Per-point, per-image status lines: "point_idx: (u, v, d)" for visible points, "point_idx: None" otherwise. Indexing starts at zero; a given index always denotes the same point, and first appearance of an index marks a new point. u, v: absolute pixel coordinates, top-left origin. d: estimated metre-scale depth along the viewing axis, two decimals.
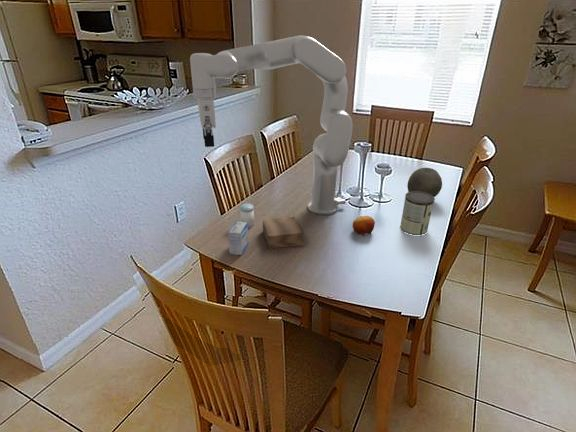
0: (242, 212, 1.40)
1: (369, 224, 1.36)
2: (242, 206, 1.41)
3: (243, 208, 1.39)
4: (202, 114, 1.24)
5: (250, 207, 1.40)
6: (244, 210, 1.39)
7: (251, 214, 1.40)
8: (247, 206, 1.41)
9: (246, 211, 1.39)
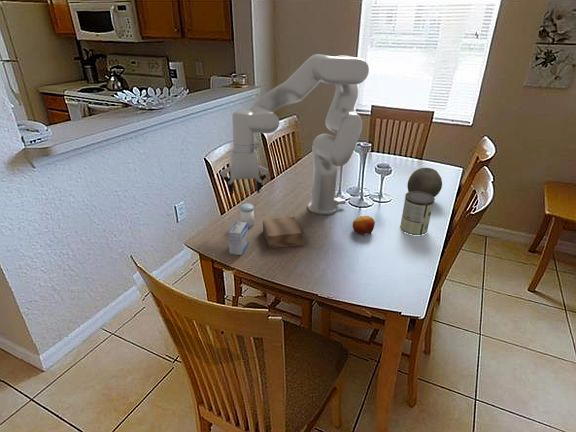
0: (242, 212, 1.40)
1: (369, 224, 1.36)
2: (242, 206, 1.41)
3: (243, 208, 1.39)
4: (258, 164, 1.32)
5: (250, 207, 1.40)
6: (244, 210, 1.39)
7: (251, 214, 1.40)
8: (247, 206, 1.41)
9: (246, 211, 1.39)
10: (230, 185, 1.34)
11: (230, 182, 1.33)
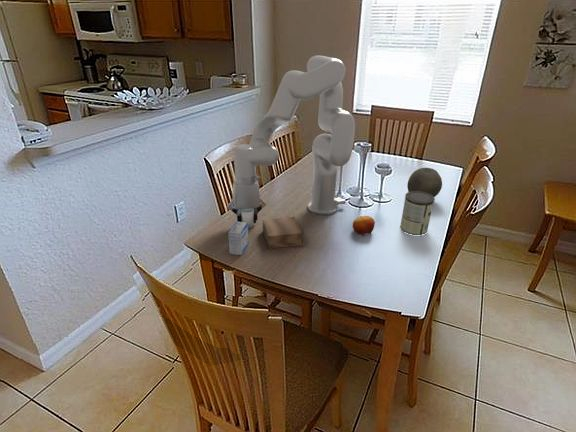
0: (242, 212, 1.40)
1: (369, 224, 1.36)
2: None
3: None
4: (259, 194, 1.38)
5: None
6: (244, 210, 1.39)
7: (251, 214, 1.40)
8: None
9: (246, 211, 1.39)
10: (238, 216, 1.41)
11: (238, 214, 1.40)
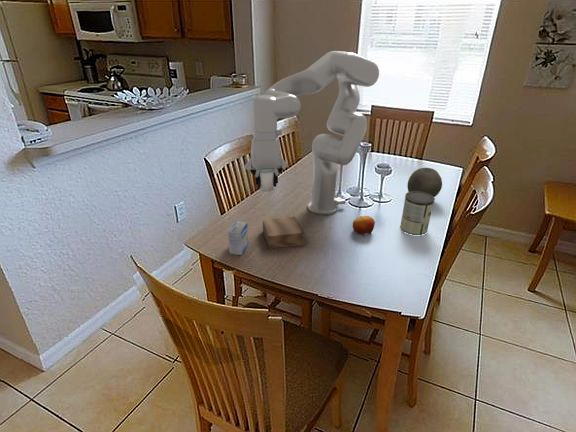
0: (261, 173, 1.27)
1: (369, 224, 1.36)
2: None
3: None
4: (280, 153, 1.25)
5: None
6: (263, 170, 1.26)
7: (271, 175, 1.27)
8: None
9: (265, 172, 1.26)
10: (257, 178, 1.28)
11: (257, 175, 1.27)
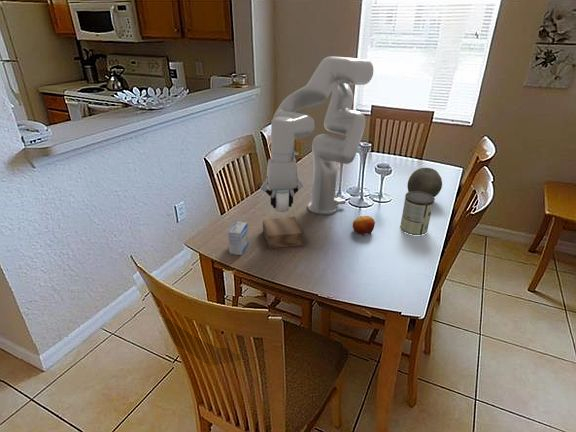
0: (277, 194, 1.26)
1: (369, 224, 1.36)
2: None
3: None
4: None
5: None
6: (280, 191, 1.25)
7: (287, 196, 1.26)
8: None
9: (282, 192, 1.25)
10: (272, 198, 1.27)
11: (273, 195, 1.26)
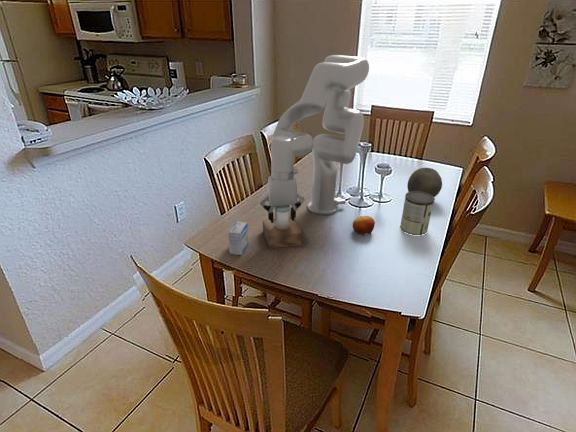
0: (277, 212, 1.29)
1: (369, 224, 1.36)
2: (277, 206, 1.30)
3: (279, 208, 1.29)
4: None
5: (286, 207, 1.30)
6: (280, 210, 1.28)
7: (287, 214, 1.30)
8: None
9: (282, 211, 1.28)
10: (270, 214, 1.30)
11: (270, 211, 1.29)
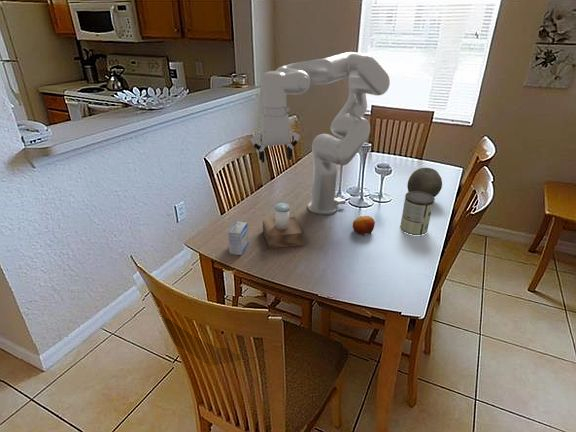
0: (277, 212, 1.29)
1: (369, 224, 1.36)
2: (277, 206, 1.30)
3: (279, 208, 1.29)
4: None
5: (286, 207, 1.30)
6: (280, 210, 1.28)
7: (287, 214, 1.30)
8: (282, 205, 1.30)
9: (282, 211, 1.28)
10: (261, 153, 1.28)
11: (261, 149, 1.27)
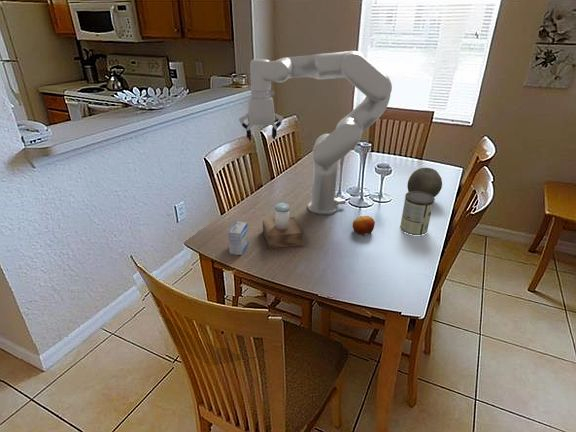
0: (277, 212, 1.29)
1: (369, 224, 1.36)
2: (277, 206, 1.30)
3: (279, 208, 1.29)
4: None
5: (286, 207, 1.30)
6: (280, 210, 1.28)
7: (287, 214, 1.30)
8: (282, 205, 1.30)
9: (282, 211, 1.28)
10: (248, 131, 1.45)
11: (248, 128, 1.44)
